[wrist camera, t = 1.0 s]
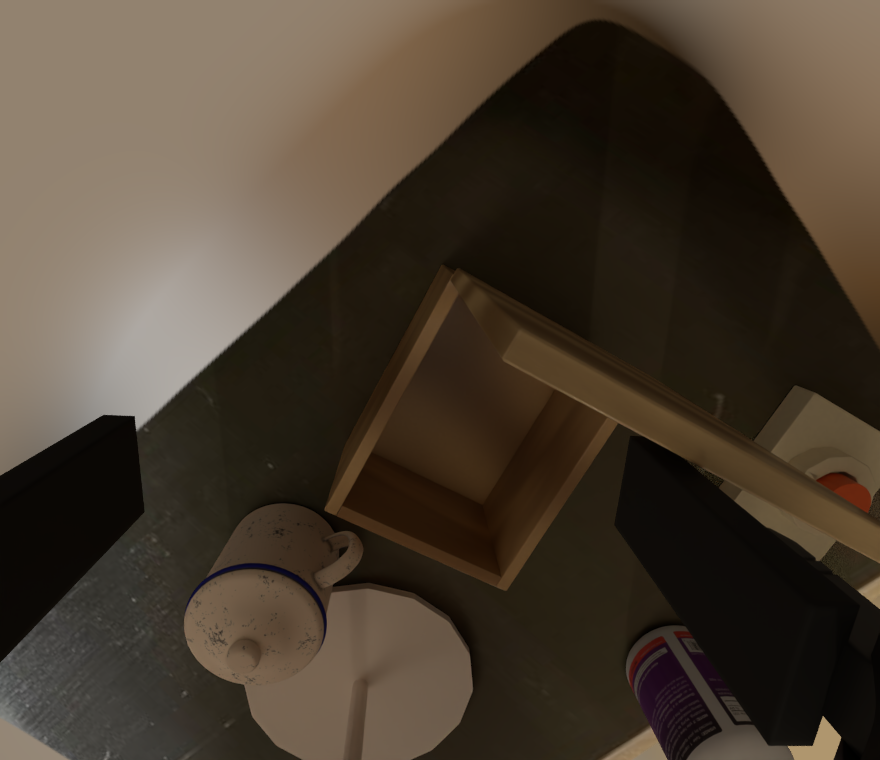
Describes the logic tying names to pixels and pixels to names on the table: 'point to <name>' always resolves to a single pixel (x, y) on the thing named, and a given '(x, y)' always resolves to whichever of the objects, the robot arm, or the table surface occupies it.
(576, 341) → the wooden box lid
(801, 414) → the button box
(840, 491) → the button
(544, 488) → the lid box
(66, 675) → the table surface
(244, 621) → the teacup with lid
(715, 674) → the pill bottle
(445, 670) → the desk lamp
